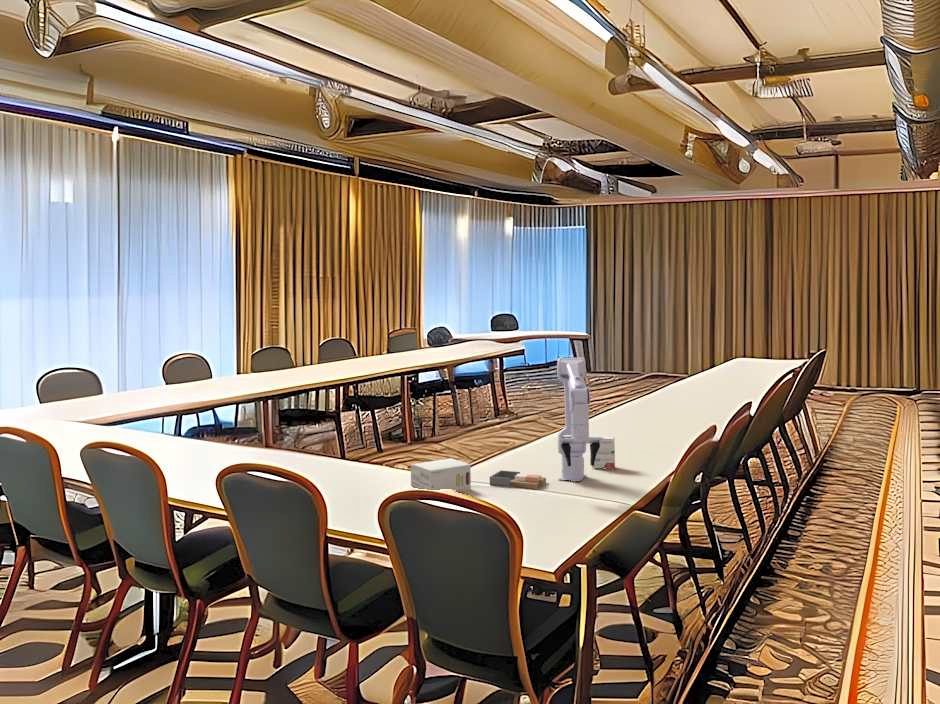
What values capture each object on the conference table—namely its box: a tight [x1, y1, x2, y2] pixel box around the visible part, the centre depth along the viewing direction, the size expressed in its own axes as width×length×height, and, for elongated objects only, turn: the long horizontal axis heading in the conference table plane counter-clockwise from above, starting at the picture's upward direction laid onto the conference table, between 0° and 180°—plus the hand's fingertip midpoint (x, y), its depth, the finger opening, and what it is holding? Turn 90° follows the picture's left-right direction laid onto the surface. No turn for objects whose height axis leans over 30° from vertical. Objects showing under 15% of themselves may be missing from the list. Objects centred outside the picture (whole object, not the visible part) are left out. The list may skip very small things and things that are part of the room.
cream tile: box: [515, 473, 530, 481], centre depth 301 cm, size 4×4×2 cm
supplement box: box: [410, 457, 472, 492], centre depth 296 cm, size 17×13×9 cm
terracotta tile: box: [527, 474, 542, 482], centre depth 299 cm, size 4×4×2 cm
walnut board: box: [509, 476, 547, 490], centre depth 301 cm, size 10×10×2 cm
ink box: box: [591, 436, 616, 470], centre depth 325 cm, size 9×5×12 cm, turn 77°
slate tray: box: [489, 470, 521, 488], centre depth 305 cm, size 10×8×3 cm
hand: (580, 465), depth 282 cm, fingers open, 7 cm apart
